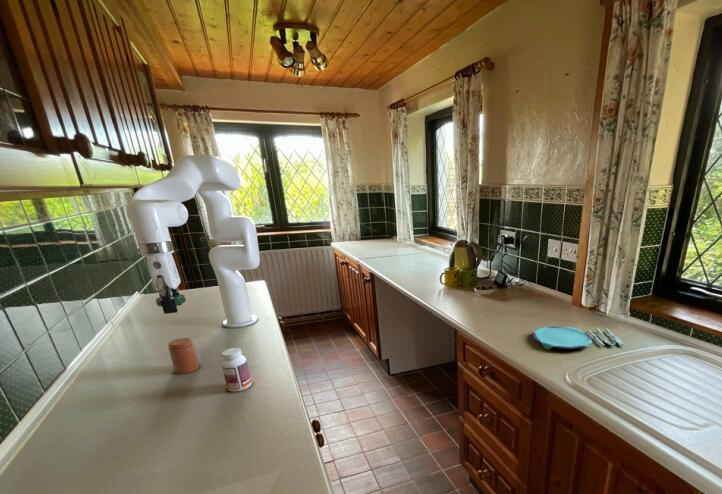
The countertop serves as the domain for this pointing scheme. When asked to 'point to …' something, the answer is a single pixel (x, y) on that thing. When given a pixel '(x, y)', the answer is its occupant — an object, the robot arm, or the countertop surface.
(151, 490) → the countertop surface
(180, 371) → the jam jar
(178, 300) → the jar lid
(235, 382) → the pill bottle
